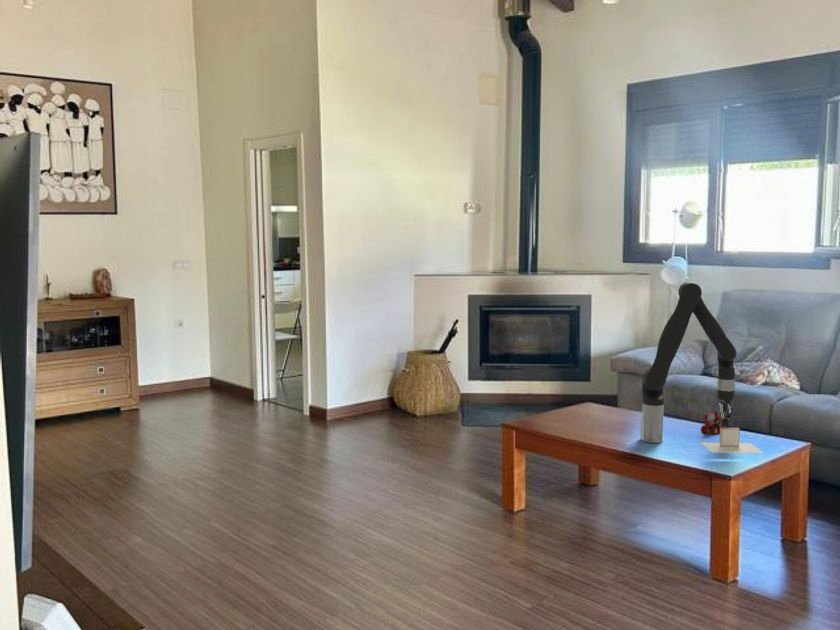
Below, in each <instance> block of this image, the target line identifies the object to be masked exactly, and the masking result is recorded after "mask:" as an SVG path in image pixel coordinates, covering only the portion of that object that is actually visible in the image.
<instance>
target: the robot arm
mask: <svg viewBox="0 0 840 630" xmlns="http://www.w3.org/2000/svg"><path fill="white" fill-rule="evenodd" d="M702 293H703V292H702V288H701V286H700V285H699V284H697V283H696V282H692V281H685V282H683V283H682V284H680V286H679V288H678V296H679V297H678V301H677V302H676V303H677V304H676V306H675V308H674V311H673V312H672V314H671V315H670V317H669V319H668V320H667V322H666V324H665V326H664V327H663V329H662V333H661V334H660V337H659V340H658V344H657V349H656V354H655V358H654V361H653V363H652V365H651V366H650V368H648V369H645V370H644V373H643V374H642V385H641V387H642V388H641V390H642V391H641V392H642V393H641V395H642V411H641V412H642V413H641V415H642V416H641V419H640V435H639V436H640V437H639V439H640V440H641V441H642V443H649V444H659V443H662V442H663V441H664V440H663V437H664V436H663V435H664V406H665V405H664V404H665V403H664V402H665V397H664V386H665V385H666V382H667V378H668V375H669V371H670V368H671V365H672V363H673V360H674V359H675V357H676V356H677V355H676V354H677V353H678V351H679V348H680V347H681V344H682V342H683V339H684V337H685V334H686V331H687V328H688V326H689V323H690V319H691V317H692V314H693V315H694V316H695V318H696V320H697V321H698V323H699V325H700V326H701V328H702V330H703V331H704V333H705V335H706V337H708V339H709V341H710V343H712V344H713V345H714V348H715V349H716V350H717V354H716V355H717V364H718V365H717V366H718V367H717V368H718V369H717V382H716V399H718V400H719V402H718V404H717V406H718V412H719V417H720V416H721V418H720V419H721V426H723V427H724V428H729V419H731V417H732V414H733V413H734V409H733V408H732V402H731V401H734V400H735V399H736V396H735V395H736V381H735V380H736V379H735V377H736V370H735V369H736V368H735V365H734V360H735V359H736V358H737V354H738V352H737V350H736V347H735V346H734V345H733V343H732V342H731V341H730V339H729V338H728V336H727V335H726V333H725V331H724V329H723V328H722V326H721V324H720V323H719V322H718V321H717V319H716V317H715V316H714V315H713V314H712V313H711V311H710V309H709V308H708V306H706V304H705V302H704V300H703V298H702V295H703V294H702Z"/></svg>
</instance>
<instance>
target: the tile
mask: <svg viewBox="0 0 840 630" xmlns="http://www.w3.org/2000/svg"><path fill="white" fill-rule="evenodd" d="M740 429H741V428H739V427H724V428H720V434H719V442H718V443H719V445H720V446H739V443H740V431H741V430H740Z"/></svg>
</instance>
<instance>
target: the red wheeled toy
mask: <svg viewBox="0 0 840 630" xmlns="http://www.w3.org/2000/svg"><path fill="white" fill-rule="evenodd" d="M703 419H704V424H702V426H701V427H700V433H702V435H706V434H707V433H708V434H711V435H720V428H725V427H723V426H722V420H721V418H720V414H718V412H717V411H713V412H709V413H706V414H704V418H703Z"/></svg>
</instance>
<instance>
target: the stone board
mask: <svg viewBox="0 0 840 630" xmlns="http://www.w3.org/2000/svg"><path fill="white" fill-rule="evenodd" d="M719 443H720V442H700V444H701V445H702V446H704V447H705V448H706V449H707V450H709V451H710V452H711V453H714V454H716V453H719V454H720V453H721V454H724V453H726V454H730V453H731V454H764V452H763V451H762V450H761V449H759V448H758V447H756V446H755V445H753V443H751V442H739V446H720V445H719Z"/></svg>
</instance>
